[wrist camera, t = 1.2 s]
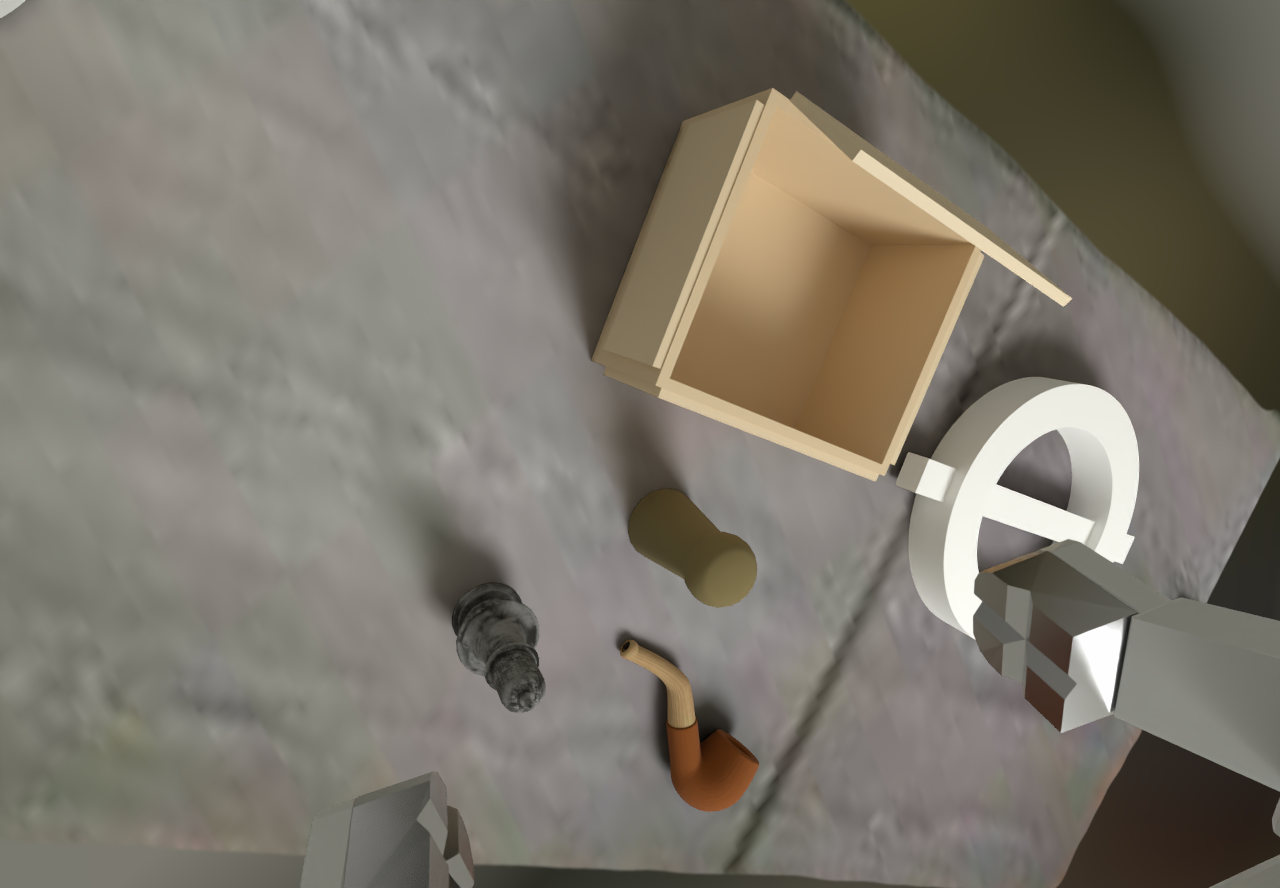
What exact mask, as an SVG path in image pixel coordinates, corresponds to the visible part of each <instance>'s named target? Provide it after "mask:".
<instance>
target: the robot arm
mask: <svg viewBox="0 0 1280 888" xmlns="http://www.w3.org/2000/svg"><path fill="white" fill-rule="evenodd" d="M24 1H25V0H0V18H1V17H3V16H5V15H7V14H8V13H10V12H11V11H13V10H15V9H16V8H17V7H18V6H20V5H21V4H22V3H23V2H24ZM974 594H975V595H976V596H977V597H978V598H979V599H980V600H981V601H982V603H981V604H980V606H979V607H978V609H977V610H976V612H975V614H974V615H973V634H974V637H975V639H976V642H977V644H978V647H979V649H980V651H981V653H982V654H983V656H984V657H985V659H986V660H987V661H988V663H989V664H990V665H991V666H992V667H993V668H994V669H995V670H996V671H997V672H998V673H999V674H1000V675H1001V676H1003V677H1005V678H1008V679H1011V680H1014V681H1016V682H1019V683H1022V686H1023V692H1024V698H1025V699H1026V700H1027V701H1028V702H1029V703H1030V704H1031V705H1032V706H1033V707H1034V708H1035V709H1036V710H1037V711H1038V712H1039V713H1040V714H1041V715H1042V716H1043V717H1044V718H1045V719H1046V720H1048V721H1049V722H1050V723H1051V724H1052V725H1053V726H1054V727H1055V728H1056V729H1057V730H1058V731H1059V732H1060V733H1063V732H1065V731H1068V730H1071V729H1073V728H1076V727H1079V726H1081V725H1084V724H1087V723H1089V722H1092V721H1095V720H1097V719H1100V718H1103V717H1105V716H1108V715H1110V714H1113V713H1114V717H1116V718H1118V719H1120V720H1123V721H1125V722H1127V723H1129V724H1131V725H1134V726H1136V727H1138V728H1140V729H1142V730H1145V731H1147V732H1149V733H1151V734H1154V735H1156V736H1158V737H1160V738H1162V739H1165V740H1167V741H1169V742H1171V743H1173V744H1176V745H1178V746H1180V747H1182V748H1185V749H1187V750H1189V751H1191V752H1194V753H1196V754H1198V755H1200V756H1202V757H1204V758H1207V759H1209V760H1211V761H1213V762H1215V763H1218V764H1220V765H1222V766H1224V767H1227V768H1229V769H1231V770H1233V771H1235V772H1238V773H1240V774H1242V775H1244V776H1246V777H1249V778H1251V779H1253V780H1255V781H1258V782H1260V783H1262V784H1264V785H1266V786H1269V787H1271V788H1273V789H1275V790H1277V791H1280V621H1277V620H1272V619H1268V618H1264V617H1260V616H1256V615H1252V614H1248V613H1243V612H1239V611H1235V610H1231V609H1227V608H1223V607H1219V606H1214V605H1210V604H1206V603H1202V602H1198V601H1194V600H1189V599H1185V598H1179V599H1176V600H1173V601H1172V600H1170V599H1169V598H1167V597H1165V596H1164V595H1162V594H1161V593H1159V592H1158V591H1156V590H1154V589H1153V588H1151V587H1150V586H1148V585H1147V584H1145V583H1144V582H1142V581H1140V580H1139V579H1137V578H1136V577H1134V576H1133V575H1131V574H1129V573H1128V572H1126V571H1125V570H1123V569H1122V568H1120V567H1118V566H1117V565H1115V564H1114V563H1112V562H1111V561H1109V560H1108V559H1106V558H1104V557H1103V556H1101V555H1100V554H1098V553H1097V552H1095V551H1093V550H1092V549H1090V548H1089V547H1087V546H1086V545H1084V544H1082V543H1081V542H1078V541H1075V540H1071V539H1067V540H1064V541H1061V542H1059V543H1056V544H1053V545H1050V546H1048V547H1045V548H1042V549H1040V550H1038V551H1035V552H1031V553H1028V554H1026V555H1023V556H1020V557H1018V558H1015V559H1012V560H1010V561H1007V562H1004V563H1002V564H999V565H997V566H994V567H991V568H989V569H986V570H983V571H981V572H979V574H978V575H977V577H976V579H975V581H974ZM1272 824H1273V831H1274V832H1275V833H1276V834H1277V835H1278V836H1279V837H1280V799H1279V801H1278V804H1277V807H1276V810H1275V812H1274V815H1273V818H1272ZM473 884H474V871H473V859H472V854H471V848H470V843H469V838H468V834H467V831H466V828H465V825H464V822H463V820H462V818H461V816H460V814H459V811H458V809H456V808H453V807H451V806H448V805H447V788H446V786H445V784H444V782H443V780H442V779H441V777H440V775H439V773H438V772H430V773H428V774H425V775H422V776H419V777H416V778H413V779H410V780H407V781H404V782H401V783H398V784H395V785H392V786H389V787H386V788H383V789H380V790H377V791H374V792H371V793H368V794H365V795H362V796H359V797H358V798H355V799H352V800H349V801H346V802H343V803H340V804H337V805H334V806H332V807H329V808H326V809H323V810H320V811H318V813H317V815H316V817H315V818H314V820H313V822H312V824H311V828H310V834H309V839H308V845H307V851H306V856H305V862H304V868H303V873H302V879H301V885H300V888H472V886H473ZM1210 888H1280V855H1278V856H1276V857H1274V858H1272V859H1269V860H1268V861H1265V862H1263V863H1261V864H1259V865H1257V866H1255V867H1253V868H1250V869H1248V870H1246V871H1244V872H1242V873H1240V874H1237V875H1235V876H1233V877H1231V878H1229V879H1227V880H1225V881H1223V882H1220V883H1218V884H1216V885H1214V886H1212V887H1210Z"/></svg>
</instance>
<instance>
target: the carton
mask: <svg viewBox="0 0 1280 888" xmlns="http://www.w3.org/2000/svg"><path fill="white" fill-rule="evenodd" d="M980 252H981V249H979V248H978V247H976V246H975V245H973V244H972V243H970V242H969V241H968V240H966V239H965V238H963V237H962V236H960V235H959V234H957V233H956V232H955V231H953V230H952V229H950V228H949V227H947V226H946V225H944V224H943V223H941V222H940V221H939V220H937V219H936V218H934V217H933V216H931V215H930V214H928V213H927V212H926V211H924V210H923V209H921V208H920V207H918V206H917V205H915V204H914V203H912V202H911V201H910V200H908V199H907V198H905V197H904V196H902V195H901V194H899V193H898V192H896V191H895V190H894V189H892V188H891V187H889V186H888V185H886V184H885V183H883V182H882V181H881V180H879V179H878V178H876V177H875V176H873V175H872V174H870V173H869V172H867V171H866V170H865V169H863V168H862V167H860V166H859V165H857V164H856V163H854V162H853V161H852V160H851V159H850V158H849V157H848V156H847V155H845V154H844V153H843V152H842V151H841V150H840V149H839V148H838V147H837V146H836V145H835V144H834V143H833V142H832V141H831V140H830V139H829V138H828V137H827V136H826V135H825V134H824V133H823V132H822V131H821V130H819V129H818V128H817V127H816V126H815V125H814V124H813V123H812V122H811V121H810V120H809V119H808V118H807V117H806V116H805V115H804V114H803V113H802V112H801V111H800V110H799V109H798V108H797V107H796V106H794V105H793V104H792V103H791V102H790V100H789V99H788V98H786V97H785V96H784V95H782V94H781V93H779V92H778V91H776V90H775V89H774V88H771V89H768V90H765V91H762V92H760V93H757V94H754V95H752V96H749V97H746V98H744V99H741V100H738V101H736V102H733V103H730V104H727V105H725V106H722V107H719V108H717V109H714V110H711V111H709V112H706V113H703V114H701V115H698V116H695V117H693V118H690V119H687V120H684V121H683V122H682V124H681V127H680V129H679V132H678V135H677V137H676V140H675V142H674V145H673V148H672V150H671V153H670V155H669V158H668V161H667V163H666V166H665V169H664V171H663V174H662V176H661V179H660V182H659V184H658V187H657V189H656V192H655V195H654V197H653V200H652V202H651V205H650V208H649V210H648V213H647V215H646V218H645V221H644V223H643V226H642V229H641V231H640V234H639V236H638V239H637V242H636V244H635V247H634V249H633V252H632V255H631V257H630V260H629V262H628V265H627V268H626V270H625V273H624V275H623V278H622V281H621V283H620V286H619V289H618V291H617V294H616V296H615V299H614V302H613V304H612V307H611V309H610V312H609V315H608V317H607V320H606V322H605V325H604V328H603V330H602V333H601V335H600V338H599V341H598V343H597V346H596V348H595V351H594V354H593V356H592V359H591V361H594V362H596V363H599V364H601V365H604V366H606V369H605V371H604V374H603V375H606V376H608V377H611V378H613V379H615V380H618V381H620V382H622V383H625V384H627V385H630V386H632V387H634V388H637V389H639V390H641V391H644V392H646V393H649V394H651V395H653V396H656V397H658V398H661V399H663V400H666V401H668V402H671V403H674V404H676V405H679V406H681V407H684V408H686V409H689V410H692V411H694V412H697V413H699V414H702V415H705V416H707V417H710V418H712V419H715V420H717V421H720V422H723V423H725V424H728V425H730V426H733V427H736V428H738V429H741V430H743V431H746V432H749V433H751V434H754V435H756V436H759V437H761V438H764V439H767V440H769V441H772V442H774V443H777V444H780V445H782V446H785V447H787V448H790V449H793V450H795V451H798V452H800V453H803V454H805V455H808V456H811V457H813V458H816V459H818V460H821V461H824V462H826V463H829V464H831V465H834V466H837V467H839V468H842V469H844V470H847V471H849V472H852V473H855V474H857V475H860V476H862V477H865V478H868V479H870V480H873V481H875V482H876V480H877V477H878V475H879V474H880V475H883V476H885V474H886V472H887V470H888V467H889V465H890V464H893V465H895V463H896V461H897V459H898V456H899V454H900V452H901V449H902V447H903V445H904V442H905V440H906V438H907V435H908V433H909V431H910V428H911V426H912V424H913V421H914V419H915V417H916V414H917V412H918V410H919V407H920V405H921V403H922V400H923V398H924V396H925V393H926V391H927V389H928V386H929V384H930V382H931V379H932V377H933V375H934V372H935V370H936V368H937V365H938V363H939V361H940V358H941V356H942V354H943V351H944V349H945V347H946V344H947V342H948V340H949V337H950V335H951V333H952V330H953V328H954V326H955V323H956V321H957V319H958V316H959V314H960V312H961V309H962V307H963V305H964V302H965V300H966V298H967V295H968V293H969V291H970V288H971V286H972V284H973V281H974V279H975V277H976V274H977V272H978V270H979V268H980V265H981V263H982V261H983V258H984V255H983V254H981V253H980Z"/></svg>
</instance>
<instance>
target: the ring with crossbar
mask: <svg viewBox="0 0 1280 888" xmlns="http://www.w3.org/2000/svg"><path fill="white" fill-rule="evenodd" d="M1055 429H1057V430H1058V431H1059V433H1060V434H1061V435H1062V437H1063V439H1064V441H1065V442H1066V445H1067V447H1068V450H1069V454H1070V458H1071V465H1072V486H1071V494H1070V499H1069V503H1068V507H1067V511H1065V510H1062V509H1060V508H1057V507H1054V506H1052V505H1049V504H1046V503H1044V502H1041V501H1039V500H1036V499H1033V498H1031V497H1028V496H1026V495H1023V494H1020V493H1018V492H1015V491H1012V490H1010V489H1007V488H1005V487H1002V486H999V485H997V484H996V483H997V481H998V480H999V478H1000V476H1001V475H1002V473H1003V472H1004V470H1005V469H1006V468H1007V466H1008V465H1009V464H1010V463H1011V461H1012V460H1013V459H1014V458H1015V457H1016V456H1017V455H1018V454H1019V453H1020V451H1021V450H1023V449H1024V448H1025V447H1026V446H1027V445H1028V444H1030V443H1031V442H1032V441H1034V440H1035V439H1036V438H1038V437H1040V436H1041V435H1043V434H1045V433H1047V432H1050V431H1052V430H1055ZM1138 480H1139V455H1138V446H1137V441H1136V436H1135V432H1134V429H1133V426H1132V424H1131V421H1130V419H1129V417H1128V415H1127V413H1126V412H1125V410H1124V409H1123V407H1122V406H1121V405H1120V403H1119V402H1118V401H1117V400H1116V399H1115V398H1114V397H1113V396H1111V395H1110V394H1109V393H1107V392H1106V391H1104V390H1102V389H1100V388H1097V387H1094V386H1091V385H1086V384H1080V383H1074V382H1068V381H1062V380H1056V379H1050V378H1044V377H1026V378H1021V379H1017V380H1013V381H1010V382H1008V383H1005V384H1003V385H1001V386H999V387H997V388H995V389H993V390H991V391H990V392H988V393H987V394H985V395H984V396H982V397H981V398H980V399H978V400H977V401H976V402H975V403H974V404H972V405H971V406H970V407H969V408H968V409H967V410H966V411H965V412H964V413H963V414H962V415H961V416H960V417H959V418H958V419H957V421H956V422H955V423H954V424H953V425H952V427H951V428H950V429H949V431H948V432H947V433H946V435H945V436H944V437H943V439H942V440H941V442H940V444H939V445H938V447H937V448H936V450H935V452H934V454H933V455H932V457H931V459H929V458H926V457H923V456H920V455H917V454H914V453H911V452H908V454H907V456H906V459H905V461H904V464H903V466H902V468H901V471H900V473H899V476H898V478H897V481H896V483H895V485H897V486H899V487H902V488H904V489H907V490H909V491H912V492H914V493H917V494H916V497H915V501H914V505H913V509H912V514H911V519H910V527H909V542H908V549H909V562H910V568H911V573H912V577H913V581H914V584H915V586H916V589H917V591H918V593H919V595H920V597H921V599H922V600H923V602H924V604H925V605H926V606H927V607H928V609H929V610H930V611H931V612H932V613H933V614H934V615H936V616H937V617H938V618H940V619H941V620H943V621H944V622H946V623H948V624H950V625H951V626H953V627H955V628H956V629H958V630H960V631H961V632H963V633H965V634H967V635H968V636H970V637H972V638H973V639H975V637H974V634H973V615H974V614H975V612H976V610H977V609H978V607H979V606H980V604H981V603H982V601H981V600H980V599H979V598H978V597H977V596H976V595H975V594H974V581H975V579H976V577H977V575H978V574H979V571H978V564H977V541H978V534H979V528H980V523H981V520H982V516H984V517H987V518H990V519H993V520H996V521H999V522H1002V523H1005V524H1007V525H1010V526H1013V527H1016V528H1019V529H1022V530H1025V531H1028V532H1031V533H1034V534H1037V535H1040V536H1043V537H1045V538H1048V539H1051V540H1054V541H1053V542H1052V544H1051V545H1053V544H1056V543H1059V542H1061V541H1064V540H1067V539H1071V540H1075V541H1078V542H1081V543H1082V544H1084V545H1086V546H1087V547H1089V548H1090V549H1092V550H1093V551H1095V552H1097V553H1098V554H1100V555H1101V556H1103V557H1104V558H1106V559H1108V560H1109V561H1111V562H1112V563H1114V561H1116V562H1118V563H1121V564H1123V562H1124V560H1125V558H1126V556H1127V553H1128V551H1129V549H1130V547H1131V544H1132V542H1133V540H1134V538H1135V537H1133V536H1130V535H1128V534H1126V533H1127V531H1128V528H1129V525H1130V521H1131V518H1132V514H1133V511H1134V506H1135V502H1136V496H1137V489H1138ZM975 640H976V639H975Z"/></svg>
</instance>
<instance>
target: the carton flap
mask: <svg viewBox="0 0 1280 888" xmlns="http://www.w3.org/2000/svg"><path fill="white" fill-rule="evenodd" d="M790 102H791V103H792V104H793V105H794V106H796V107H797V108H798V109H799V110H800V111H801V112H802V113H803V114H804V115H805V116H806V117H807V118H808V119H809V120H810V121H811V122H812V123H813V124H814V125H815V126H816V127H817V128H818V129H819V130H821V131H822V132H823V133H824V134H825V135H826V136H827V137H828V138H829V139H830V140H831V141H832V142H833V143H834V144H835V145H836V146H837V147H838V148H839V149H840V150H841V151H842V152H843V153H844V154H845V155H847V156H848V157H849V158H850V159H851V160H852V161H853V162H854V163H856V164H857V165H859V166H860V167H862V168H863V169H865V170H866V171H867V172H869V173H870V174H872V175H873V176H875V177H876V178H878V179H879V180H881V181H882V182H883V183H885V184H886V185H888V186H889V187H891V188H892V189H894V190H895V191H896V192H898V193H899V194H901V195H902V196H904V197H905V198H907V199H908V200H910V201H911V202H912V203H914V204H915V205H917V206H918V207H920V208H921V209H923V210H924V211H926V212H927V213H928V214H930V215H931V216H933V217H934V218H936V219H937V220H939V221H940V222H941V223H943V224H944V225H946V226H947V227H949V228H950V229H952V230H953V231H955V232H956V233H957V234H959V235H960V236H962V237H963V238H965V239H966V240H968V241H969V242H970V243H972V244H973V245H975V246H976V247H978V248H979V249H981V250H982V251H984V252H985V253H986V254H988V255H989V256H991V257H992V258H994V259H995V260H997V261H998V262H999V263H1001V264H1002V265H1004V266H1005V267H1007V268H1008V269H1010V270H1011V271H1013V272H1014V273H1015V274H1017V275H1018V276H1020V277H1021V278H1023V279H1024V280H1026V281H1027V282H1029V283H1030V284H1031V285H1033V286H1034V287H1036V288H1037V289H1039V290H1040V291H1042V292H1043V293H1044V294H1046V295H1047V296H1049V297H1050V298H1052V299H1053V300H1055V301H1056V302H1058V303H1059V304H1060V305H1062V306H1063V307H1064V306H1065V305H1066V304H1067V303H1068V302H1069V301H1070V300H1071V299H1072V298H1071V297H1070V296H1068V295H1067V294H1066V293H1065V292H1064V291H1062V290H1061V289H1060V288H1059V287H1058V286H1056V285H1055V284H1054V283H1053V282H1052V281H1050V280H1049V279H1048V278H1047V277H1046V276H1044V275H1043V274H1042V273H1041V272H1040V271H1038V270H1037V269H1036V268H1035V267H1034V266H1033V265H1031V264H1030V263H1029V262H1028V261H1027V260H1025V259H1024V258H1023V257H1022V256H1021V255H1019V254H1018V253H1017V252H1016V251H1015V250H1013V249H1012V248H1011V247H1010V246H1009V245H1007V244H1006V243H1005V242H1004V241H1003V240H1001V239H1000V238H999V237H998V236H997V235H995V234H994V233H993V232H992V231H991V230H989V229H988V228H987V227H985V226H984V225H982V224H981V223H980V222H978V221H977V220H976V219H974V218H973V217H971V216H970V215H969V214H967V213H966V212H964V211H963V210H962V209H960V208H959V207H957V206H956V205H955V204H953V203H952V202H950V201H949V200H948V199H946V198H945V197H944V196H942V195H941V194H939V193H938V192H937V191H935V190H934V189H932V188H931V187H930V186H928V185H927V184H925V183H924V182H923V181H921V180H920V179H918V178H917V177H916V176H914V175H913V174H912V173H910V172H909V171H907V170H906V169H905V168H903V167H902V166H900V165H899V164H898V163H896V162H895V161H893V160H892V159H891V158H889V157H888V156H886V155H885V154H884V153H882V152H881V151H879V150H878V149H877V148H875V147H874V146H873V145H871V144H870V143H868V142H867V141H866V140H864V139H863V138H861V137H860V136H859V135H857V134H856V133H854V132H853V131H852V130H850V129H849V128H847V127H846V126H845V125H843V124H842V123H841V122H839V121H838V120H836V119H835V118H834V117H832V116H831V115H829V114H828V113H827V112H825V111H824V110H822V109H821V108H820V107H818V106H817V105H815V104H814V103H813V102H811V101H810V100H809V99H807V98H806V97H804V96H803V95H802V94H800V93H799V92H797V91H796V92H795V94H794V95H793V97H792V98H791V100H790Z"/></svg>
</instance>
